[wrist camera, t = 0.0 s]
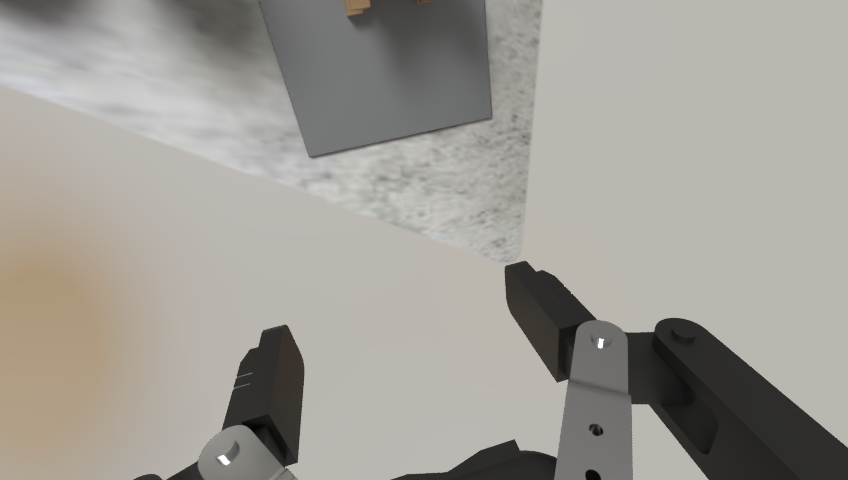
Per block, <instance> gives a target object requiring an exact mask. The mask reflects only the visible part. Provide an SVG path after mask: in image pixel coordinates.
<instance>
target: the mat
mask: <svg viewBox="0 0 848 480" xmlns="http://www.w3.org/2000/svg"><path fill="white" fill-rule="evenodd" d="M369 1H370V6H371V7H370V8H367V9H363V14H359V15H353V16H348V17H347V15H346V10H345V6H344V1H343V0H259V4H260V7H261V10H262V13H263V16H264V19H265V22H266V25H267V28H268V31H269V35H270V38H271V41H272V44H273V47H274V50H275V53H276V56H277V59H278V62H279V66H280V69H281V72H282V75H283V78H284V81H285V84H286V87H287V90H288V94H289V97H290V100H291V103H292V106H293V109H294V112H295V115H296V118H297V121H298V125H299V128H300V131H301V134H302V137H303V140H304V143H305V146H306V149H307V152H308V156H309V157H311V156H316V155H320V154H325V153H330V152H334V151H339V150H343V149H348V148H352V147H357V146H362V145H366V144H371V143H375V142H380V141H385V140H389V139H394V138H398V137H403V136H408V135H412V134H417V133H421V132H426V131H431V130H435V129H440V128H444V127H449V126H454V125H458V124H463V123H467V122H472V121H476V120H481V119H486V118H490V117H491V102H490V86H489V70H488V55H487V39H486V24H485V8H484V0H435V1H433V2H427V3H421V4H418V2H417V0H369Z"/></svg>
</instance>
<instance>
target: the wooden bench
mask: <svg viewBox="0 0 848 480" xmlns="http://www.w3.org/2000/svg"><path fill="white" fill-rule="evenodd" d="M343 1H344V6H345V10H346V15H347V17H348V16H353V15H359V14H363V9H367V8H370V7H371V6H370V1H369V0H343ZM433 1H435V0H417V2H418V4H421V3H427V2H433Z"/></svg>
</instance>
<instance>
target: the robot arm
mask: <svg viewBox="0 0 848 480" xmlns="http://www.w3.org/2000/svg"><path fill="white" fill-rule="evenodd" d="M505 285H506V299H507V304H508V307H509V310H510V312H511V314H512V316H513V317H514V319H515V320H516V322H517V323H518V325H519V326H520V328H521V329H522V331H523V332H524V334H525V335H526V337H527V338H528V340H529V341H530V343H531V344H532V346H533V347H534V349H535V350H536V352H537V353H538V355H539V356H540V357H541V359H542V361H543V362H544V364H545V365H546V367H547V368H548V370H549V371H550V373H551V374H552V376H553V377H554V378H555V380H556V381H557V383H558V382H561V381H564V380H567V379H568V380H569V381H568V386H567V393H566V400H565V407H564V414H563V421H562V428H561V435H560V442H559V449H558V456H557V458H555V457H553V456H550V455H547V454H544V453H540V452H535V451H526V450H525V451H520V450H519V448H518V446H517V443H516V441H515V439H514V440H511V441H508V442H505V443H502V444H499V445H496V446H493V447H490V448H487V449H484V450H481V451H479V452H477V453H476V454H474V455H473V456H471V457H470V458H468V459H467V460H465V461H464V462H462V463H461V464H459V465H458V466H456V467H455V468H453V469H452V470H450V471H448V472H444V473H426V474H407V475H404V476H401V477H398V478H395V479H392V480H633V470H632V409H631V404H649V405H650V407H651V408H652V409H653V410H654V412H655V413H656V414H657V415H658V416H659V418H660V419H661V420H662V422H663V423H664V424H665V425H666V427H667V428H668V429H669V430H670V431H671V433H672V434H673V435H674V437H675V438H676V439H677V440H678V441H679V443H680V444H681V445H682V447H683V448H684V449H685V450H686V452H687V453H688V454H689V455H690V457H691V458H692V459H693V460H694V462H695V463H696V464H697V465H698V467H699V468H700V469H701V470H702V472H703V473H704V474H705V475H706V477H707V478H708V479H709V480H848V448H847V447H846V446H845V445H844V444H843V443H841V442H840V441H839V440H837V438H835V437H834V436H833V435H832V434H830V433H829V432H828V431H827V430H826V429H824V428H823V427H822V426H821V425H820V424H819V423H817V422H816V421H815V420H814V419H813V418H811V417H810V416H809V415H808V414H807V413H805V412H804V411H803V410H802V409H801V408H799V407H798V406H797V405H796V404H795V403H793V402H792V401H791V400H790V399H789V398H787V397H786V396H785V395H784V394H782V393H781V392H780V391H779V390H778V389H777V388H775V387H774V386H773V385H772V384H771V383H769V382H768V381H767V380H766V379H765V378H764V377H762V376H761V375H760V374H759V373H758V372H756V371H755V370H754V369H753V368H752V367H750V366H749V365H748V364H747V363H746V362H744V361H743V360H742V359H741V358H740V357H738V356H737V355H736V354H735V353H734V352H732V351H731V350H730V349H729V348H728V347H726V346H725V345H724V344H723V343H722V342H720V341H719V340H718V339H717V338H716V337H714V336H713V335H712V334H711V333H709V332H708V331H707V330H706V329H705V328H703V327H702V326H700V325H699V324H697V323H694V322H692V321H689V320H686V319H680V318H668V319H664V320H661V321H659V322H658V323H657V325H656V327H655V331H654V332H646V333H645V332H641V333H626V332H623V331H622V330H621V329H620V328H619V327H617V326H616V325H614V324H612V323H609V322H606V321H600V320H597V319H596V318H595V317H594V316H593V315H592V314H591V313H590V312H589V311H588V310H587V309H586V308H585V307H584V306H583V305H582V304H581V303H580V302H579V301H578V299H576V297H575V296H574V295H573V294H571V292H570V291H569V290H568V289H567V288H566V287H564V285H563V284H562V283H561V282H560V281H559V280H558V279H557V278H556V277H555V276H554V275H552V274H549V273H547V272H545V271H543V270H541V271H538V272H536V271H535V270H534V269H533V268H532V267H531V266H530V265H529V264H528V262H526V261H522V262H518V263H515V264H511V265H507V266H505ZM303 385H304V363H303V359H302V356H301V353H300V351H299V349H298V347H297V345H296V343H295V340H294V339H293V336H292V334H291V332H290V330H289V328H288V326H287V325H282V326H278V327H274V328H270V329H267V330H263V332H262V334H261V339H260V343H259V347H257V348H254V349H250V350H249V352H248V353H247V354H246V356H245V357H244V359H243V360H242V361H241V363H240V366H239V370H238V374H237V379H236V381H235V384H234V390H233V392H232V395H231V399H230V402H229V406H228V410H227V413H226V417H225V421H224V424H223V428H222V431H221V432H219V433H218V434H217V435H215V436H214V437H213V438H212V439H211V440H210V441H209V442H208V443H207V444H206V446H205V447H204V448H203V450H202V452H201V454H200V456H199V460H198V461H197V462H195V463H194V464H192V465H191V466H189V467H187V468H186V469H184V470H182V471H180V472H179V473H177V474H175V475H173V476H172V477H170V478H168V479H167V480H298V479H297V478H296V477H295V476H294V475H293V474H292V473H291V472H290V471H289V470H288V469H287V468H286V469H285V466H288V465H291V464H294V463H298V449H299V436H300V424H301V411H302V398H303ZM134 480H162V479H161V478H160V477H159V476H157V475H155V474H147V475H143V476H140V477H138V478H136V479H134Z"/></svg>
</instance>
